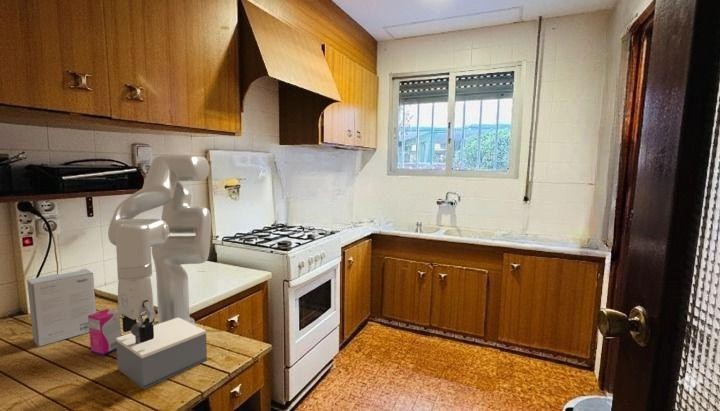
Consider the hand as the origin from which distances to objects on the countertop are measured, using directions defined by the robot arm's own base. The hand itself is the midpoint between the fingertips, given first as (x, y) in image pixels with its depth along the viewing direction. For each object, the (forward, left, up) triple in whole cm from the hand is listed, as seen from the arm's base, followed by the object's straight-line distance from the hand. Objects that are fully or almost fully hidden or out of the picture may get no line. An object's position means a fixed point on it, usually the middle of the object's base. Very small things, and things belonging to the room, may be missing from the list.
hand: (138, 335), depth 95 cm
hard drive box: (-43, -4, -11) cm, 45 cm away
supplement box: (-22, 0, -11) cm, 25 cm away
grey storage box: (0, +6, -11) cm, 13 cm away
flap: (0, +6, -3) cm, 7 cm away
